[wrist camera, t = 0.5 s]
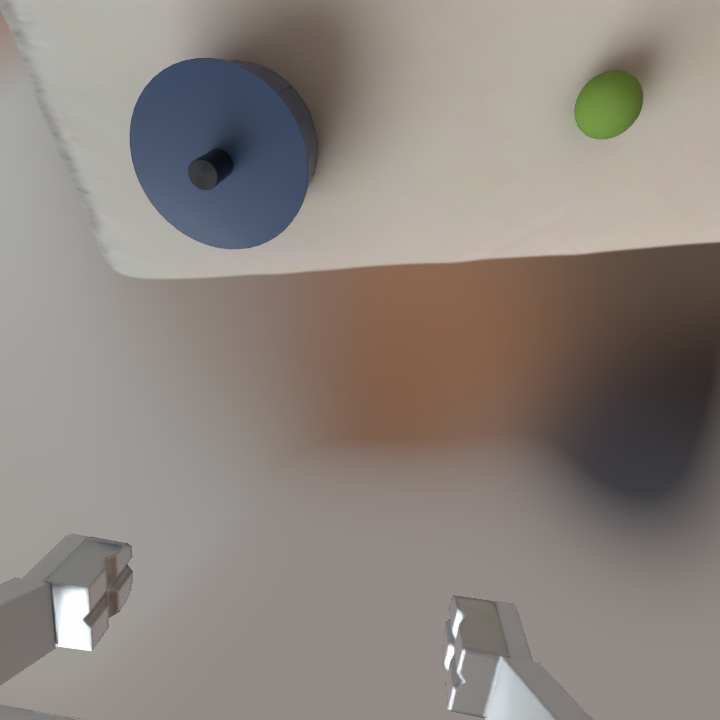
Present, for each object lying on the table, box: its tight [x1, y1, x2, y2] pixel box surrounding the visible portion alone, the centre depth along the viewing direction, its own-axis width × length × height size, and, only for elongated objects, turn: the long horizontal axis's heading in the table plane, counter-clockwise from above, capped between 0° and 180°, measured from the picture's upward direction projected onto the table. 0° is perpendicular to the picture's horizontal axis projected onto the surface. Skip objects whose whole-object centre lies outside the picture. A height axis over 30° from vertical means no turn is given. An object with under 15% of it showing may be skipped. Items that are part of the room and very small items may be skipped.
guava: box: [575, 70, 643, 139], centre depth 44 cm, size 6×6×6 cm
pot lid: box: [130, 58, 309, 249], centre depth 41 cm, size 16×16×6 cm
